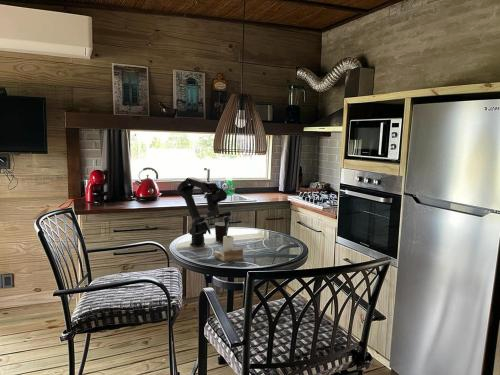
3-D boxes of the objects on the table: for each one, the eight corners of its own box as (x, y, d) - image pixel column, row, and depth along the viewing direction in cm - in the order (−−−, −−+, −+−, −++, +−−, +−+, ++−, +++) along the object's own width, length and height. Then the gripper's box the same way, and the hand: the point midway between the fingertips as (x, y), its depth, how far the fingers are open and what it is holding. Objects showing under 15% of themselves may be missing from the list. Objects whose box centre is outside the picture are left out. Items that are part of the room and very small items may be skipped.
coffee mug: (220, 237, 241) (221, 221, 240) (231, 240, 236) (231, 224, 234) (207, 240, 232) (208, 224, 231) (217, 243, 227) (218, 227, 226)
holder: (214, 257, 202) (214, 247, 201) (230, 253, 209) (231, 244, 209) (225, 262, 195) (226, 252, 194) (242, 258, 202) (242, 249, 201)
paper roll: (220, 257, 202) (221, 235, 201) (228, 255, 206) (229, 234, 204) (226, 259, 198) (227, 238, 197) (234, 258, 202) (235, 236, 200)
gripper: (192, 207, 203) (197, 236, 201) (225, 199, 201) (231, 228, 198) (198, 208, 214) (203, 236, 212) (230, 201, 212) (236, 229, 209)
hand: (218, 232), depth 207 cm, fingers open, 9 cm apart
